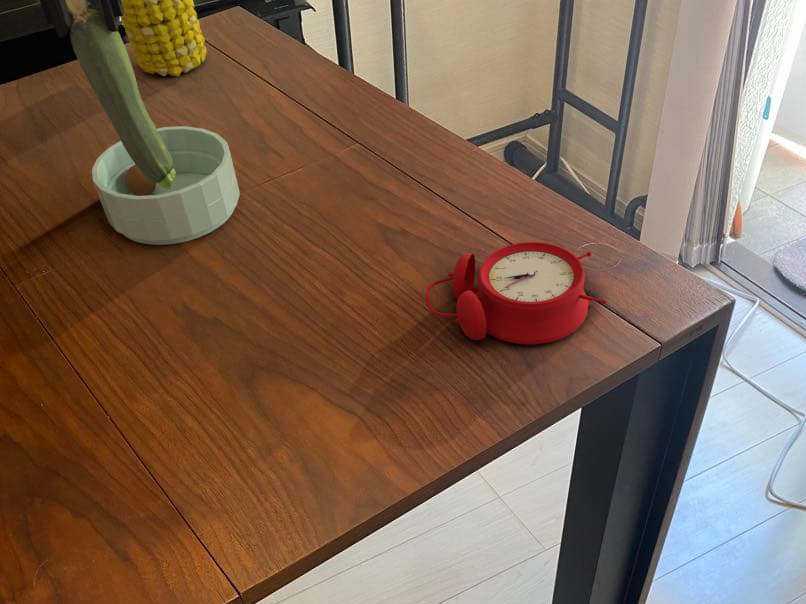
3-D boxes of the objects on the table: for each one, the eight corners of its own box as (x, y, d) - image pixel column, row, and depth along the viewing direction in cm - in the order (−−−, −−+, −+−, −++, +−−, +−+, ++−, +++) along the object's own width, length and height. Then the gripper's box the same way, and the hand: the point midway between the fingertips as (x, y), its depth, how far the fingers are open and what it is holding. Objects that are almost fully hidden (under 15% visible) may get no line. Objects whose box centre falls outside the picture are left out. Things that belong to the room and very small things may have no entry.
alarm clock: (616, 306, 70) (441, 287, 68) (591, 363, 75) (427, 348, 73) (592, 235, 77) (432, 216, 74) (571, 292, 82) (419, 276, 79)
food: (222, 65, 115) (175, 102, 111) (154, 31, 117) (105, 65, 113) (211, -55, 102) (157, -20, 97) (135, -92, 104) (78, -59, 99)
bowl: (83, 221, 91) (63, 173, 86) (179, 162, 97) (165, 114, 93) (171, 263, 85) (155, 213, 80) (267, 197, 91) (257, 148, 87)
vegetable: (140, 198, 85) (23, -22, 71) (160, 176, 88) (51, -42, 73) (175, 195, 83) (63, -32, 69) (194, 172, 86) (90, -52, 71)
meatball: (166, 189, 91) (151, 197, 93) (154, 158, 90) (139, 167, 92) (142, 194, 89) (127, 202, 91) (129, 162, 88) (114, 171, 90)
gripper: (122, -271, 63) (185, 2, 77) (-104, -251, 62) (2, 21, 77) (113, -251, 58) (181, 36, 73) (-131, -228, 58) (-12, 56, 72)
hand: (89, 26), depth 74 cm, fingers closed on vegetable, 3 cm apart
